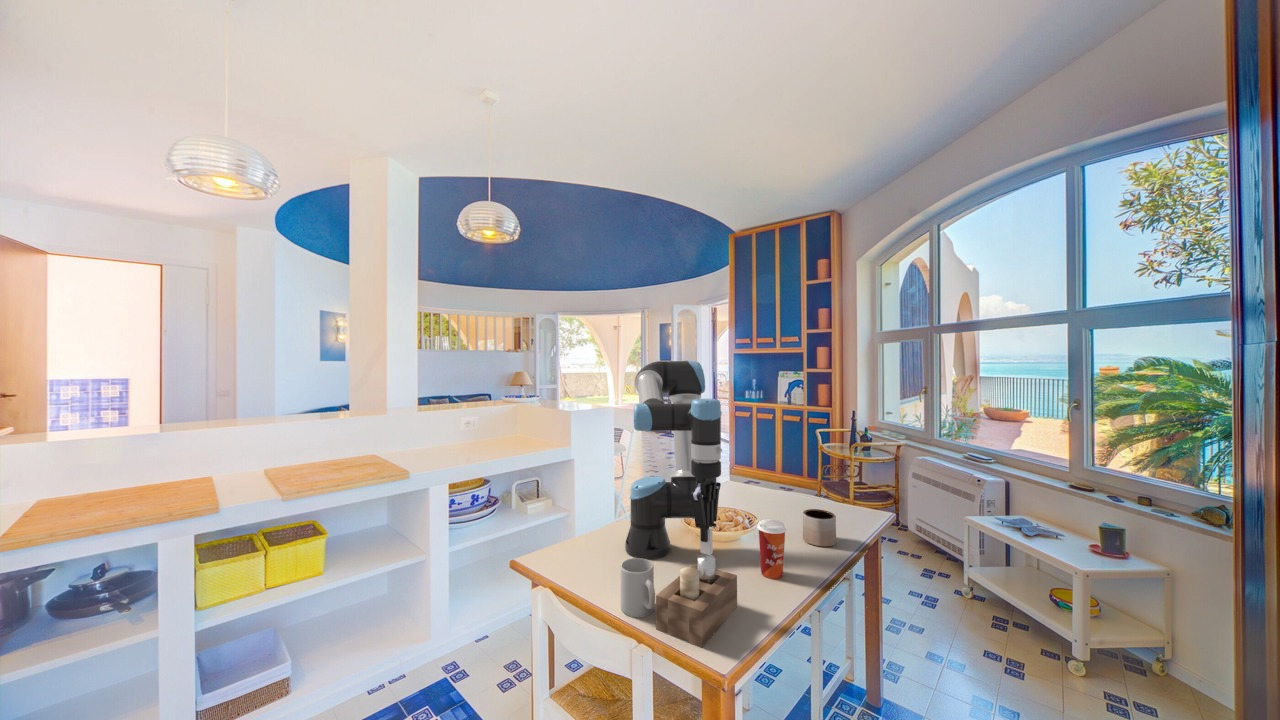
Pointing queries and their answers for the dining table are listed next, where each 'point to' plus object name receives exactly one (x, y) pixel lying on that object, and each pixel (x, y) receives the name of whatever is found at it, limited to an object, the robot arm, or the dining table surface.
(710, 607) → the walnut socket block
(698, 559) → the aluminium peg
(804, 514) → the planter
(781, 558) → the coffee cup
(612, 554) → the dining table surface
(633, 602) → the mug
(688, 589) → the beech peg
